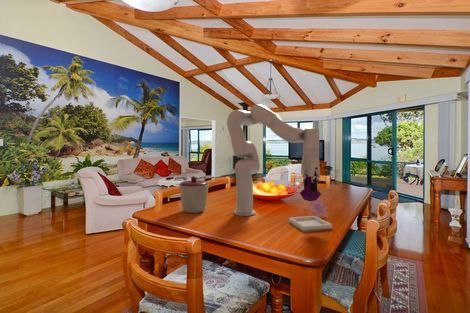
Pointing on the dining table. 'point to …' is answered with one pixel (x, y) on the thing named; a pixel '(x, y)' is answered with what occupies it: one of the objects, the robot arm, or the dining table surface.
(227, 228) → the dining table surface
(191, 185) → the canister
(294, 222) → the tray
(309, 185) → the perfume bottle
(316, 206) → the lily
